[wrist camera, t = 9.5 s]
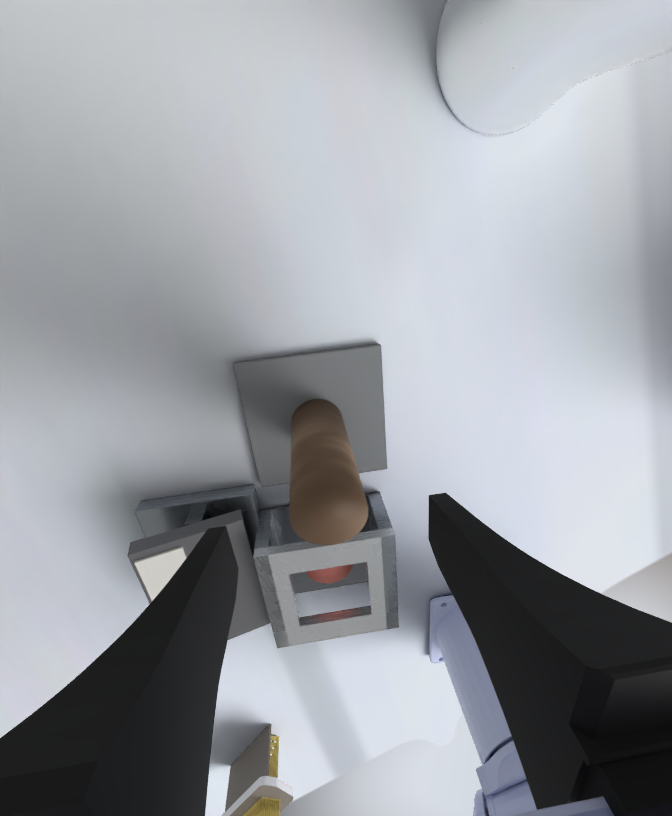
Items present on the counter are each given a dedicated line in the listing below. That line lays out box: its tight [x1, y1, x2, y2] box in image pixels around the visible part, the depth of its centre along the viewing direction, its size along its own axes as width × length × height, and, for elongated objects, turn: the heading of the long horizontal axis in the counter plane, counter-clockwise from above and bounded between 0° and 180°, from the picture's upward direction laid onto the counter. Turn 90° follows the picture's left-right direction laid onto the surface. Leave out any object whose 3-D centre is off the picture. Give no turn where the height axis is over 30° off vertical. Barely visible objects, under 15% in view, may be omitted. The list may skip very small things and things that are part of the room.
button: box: [306, 564, 353, 583], centre depth 24 cm, size 3×3×2 cm
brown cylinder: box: [289, 399, 368, 546], centre depth 17 cm, size 3×3×8 cm
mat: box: [233, 344, 387, 487], centre depth 21 cm, size 8×8×1 cm
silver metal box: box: [135, 485, 399, 648], centre depth 23 cm, size 15×10×4 cm, turn 96°
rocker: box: [128, 509, 270, 640], centre depth 22 cm, size 6×9×1 cm, turn 5°
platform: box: [222, 724, 293, 816], centre depth 32 cm, size 12×18×7 cm, turn 146°
